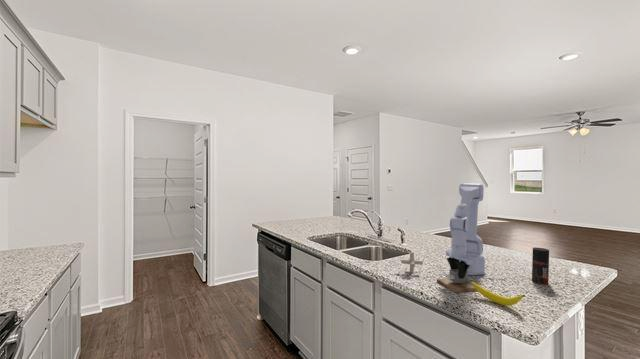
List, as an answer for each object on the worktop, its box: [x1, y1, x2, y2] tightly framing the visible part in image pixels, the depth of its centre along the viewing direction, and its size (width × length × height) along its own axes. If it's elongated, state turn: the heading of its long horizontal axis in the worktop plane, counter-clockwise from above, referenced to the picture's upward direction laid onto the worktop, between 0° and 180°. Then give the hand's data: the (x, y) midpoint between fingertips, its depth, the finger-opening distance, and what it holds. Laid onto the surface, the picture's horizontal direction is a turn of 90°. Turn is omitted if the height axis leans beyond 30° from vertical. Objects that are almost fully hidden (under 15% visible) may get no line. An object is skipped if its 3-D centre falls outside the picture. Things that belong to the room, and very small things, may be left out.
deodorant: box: [531, 246, 550, 286], centre depth 129 cm, size 6×6×15 cm
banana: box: [470, 281, 526, 307], centre depth 107 cm, size 3×19×6 cm, turn 32°
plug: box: [445, 268, 469, 283], centre depth 123 cm, size 9×4×4 cm, turn 102°
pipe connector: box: [400, 251, 424, 274], centre depth 140 cm, size 10×10×10 cm
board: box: [436, 277, 478, 293], centre depth 123 cm, size 12×12×1 cm
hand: (458, 276), depth 123 cm, fingers closed on plug, 4 cm apart
